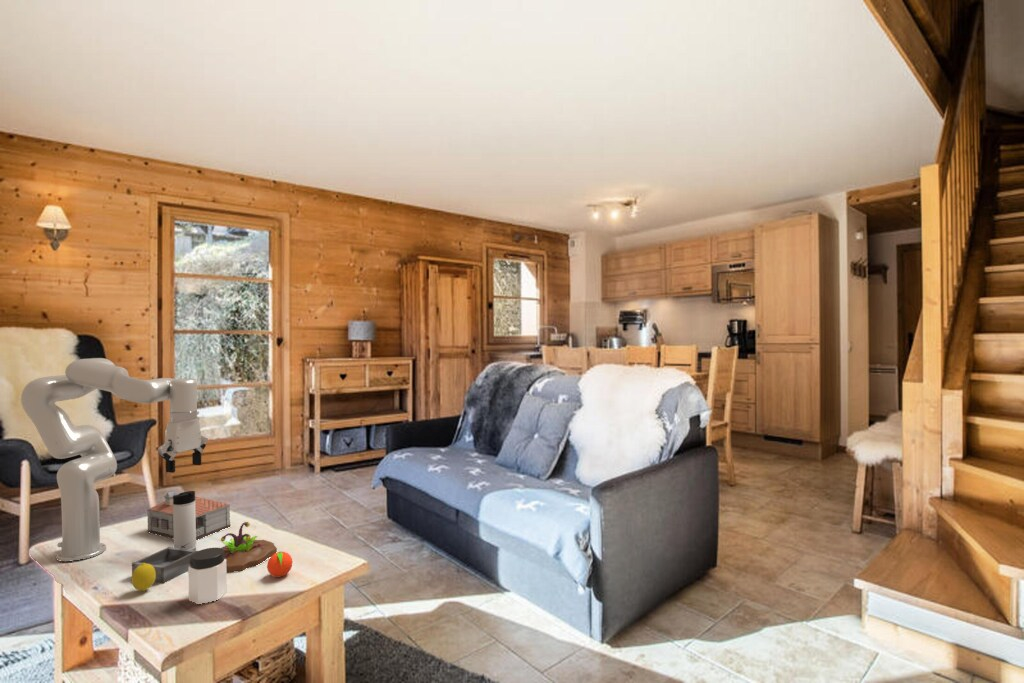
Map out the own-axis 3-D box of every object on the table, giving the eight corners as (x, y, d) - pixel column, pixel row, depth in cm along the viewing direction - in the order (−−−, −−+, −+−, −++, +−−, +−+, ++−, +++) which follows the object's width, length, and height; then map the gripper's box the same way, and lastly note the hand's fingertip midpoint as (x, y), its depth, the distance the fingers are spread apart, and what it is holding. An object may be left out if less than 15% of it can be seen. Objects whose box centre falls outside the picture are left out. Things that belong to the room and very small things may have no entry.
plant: (288, 552, 171) (288, 518, 171) (235, 577, 153) (234, 540, 153) (247, 542, 179) (246, 510, 179) (191, 565, 162) (191, 530, 162)
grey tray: (132, 578, 152) (131, 563, 152) (168, 561, 164) (168, 547, 164) (163, 583, 149) (163, 567, 149) (199, 565, 161) (198, 550, 161)
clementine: (294, 579, 151) (294, 555, 151) (268, 585, 148) (268, 560, 148) (291, 568, 158) (291, 545, 158) (266, 573, 155) (266, 550, 155)
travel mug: (186, 556, 167) (185, 495, 167) (169, 555, 169) (168, 494, 168) (201, 548, 173) (200, 489, 173) (184, 547, 175) (183, 488, 174)
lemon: (152, 584, 149) (151, 557, 148) (158, 590, 145) (158, 562, 145) (129, 592, 144) (128, 563, 144) (135, 598, 141) (134, 569, 141)
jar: (203, 588, 146) (202, 546, 146) (231, 588, 146) (231, 546, 146) (182, 605, 137) (181, 560, 137) (213, 605, 137) (212, 560, 137)
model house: (146, 533, 188) (145, 492, 188) (188, 519, 202) (187, 481, 202) (190, 543, 178) (189, 500, 178) (230, 527, 193) (229, 488, 193)
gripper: (197, 412, 179) (198, 461, 179) (149, 420, 162) (150, 474, 162) (214, 413, 177) (215, 463, 177) (168, 421, 160) (168, 476, 160)
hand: (184, 468), depth 170 cm, fingers open, 9 cm apart
